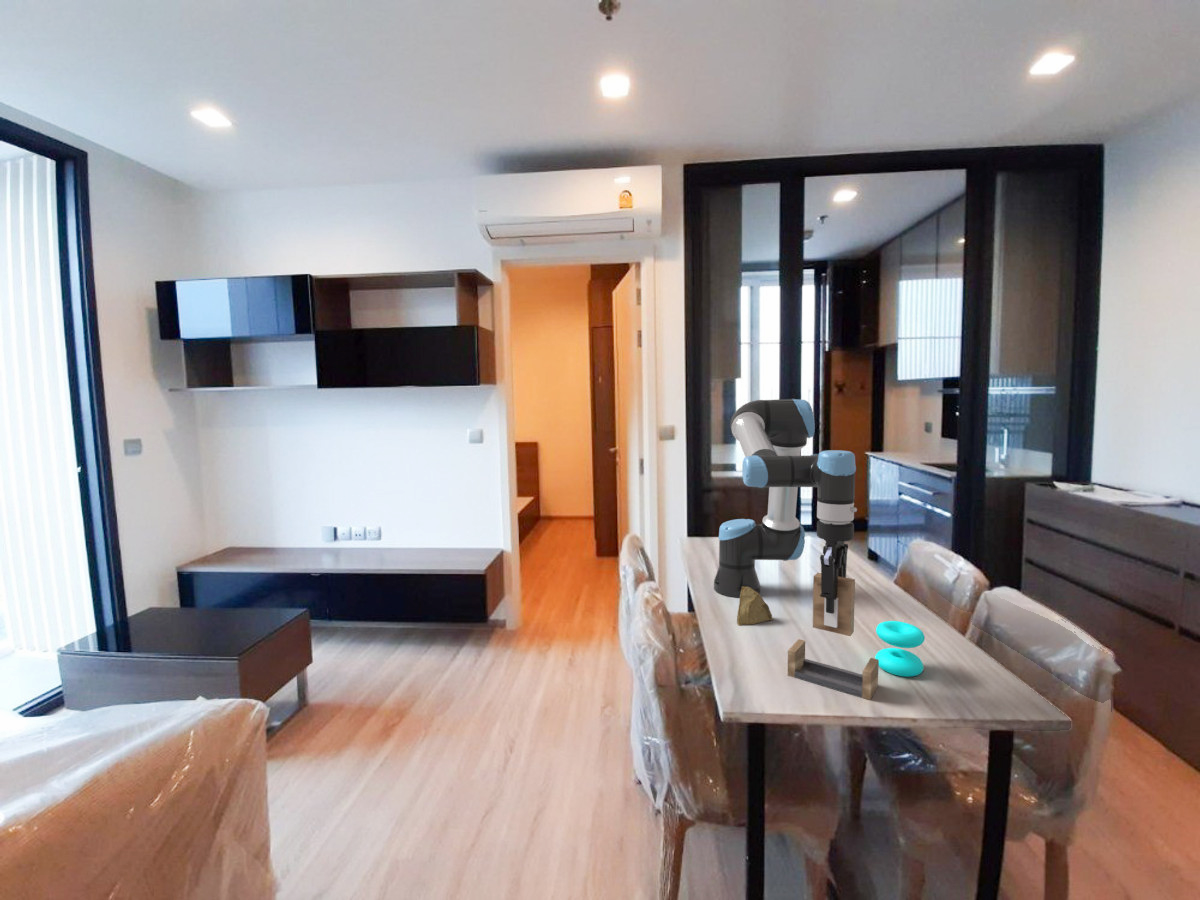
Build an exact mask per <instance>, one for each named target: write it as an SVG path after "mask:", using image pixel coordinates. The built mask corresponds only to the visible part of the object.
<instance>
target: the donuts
mask: <svg viewBox="0 0 1200 900" xmlns="http://www.w3.org/2000/svg"><path fill="white" fill-rule="evenodd" d="M875 632H876V635H877V637H878V638H879V639H880V640H881V641H883V642H884V643H886V644H888V645H890V646H893V647H886V648H882V649H880V650H879V651H877V653H876V654H875V657H874V659H878V660H879V667H878V668H880V669H881V670H883V671H884V672H887V673H888V674H891V675H895V676H899V677H906V678H907V677H916V676H919V675H920V674H921V673H922V672H923V670H924V663H923V660H921V658H920V657H919V656H918V655H916V654H915V653H913V652H911V651H909V650H906V649H911V648H917V647H919V646H921V645H923V643H924V642H925V634H924V632H923V631H922V629H920V628H919V627H917V626H915V625H914V624H911V623H907V622H904V621H898V620H887V621H882V622H880V623H879V624H877V626H876V628H875Z"/></svg>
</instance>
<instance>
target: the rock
mask: <svg viewBox="0 0 1200 900" xmlns="http://www.w3.org/2000/svg"><path fill="white" fill-rule="evenodd" d="M738 603H739V604H738V610H737V616H736V624H737V626H741V625H742V626H743V625H744V626H745V625H747V626H748V625H757V624H759V623H764V622H766V621H771V620H773V614H772V612H771V610H770V607H769V605H768V603H766V601H765V600H764V599H763V597H762V596H761V594H760V593H758V592H756V591H755V590H753V589H752V588H750V587H744V586H742V588H741V592H740V597H739V601H738Z"/></svg>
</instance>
